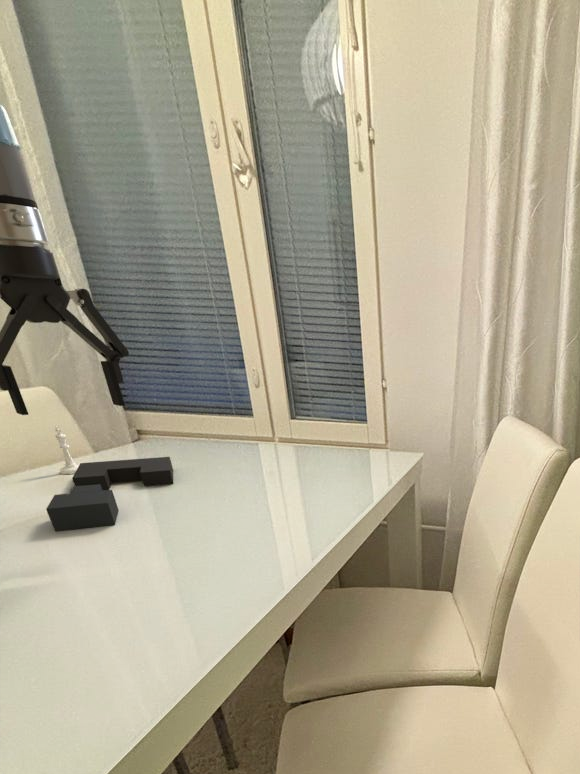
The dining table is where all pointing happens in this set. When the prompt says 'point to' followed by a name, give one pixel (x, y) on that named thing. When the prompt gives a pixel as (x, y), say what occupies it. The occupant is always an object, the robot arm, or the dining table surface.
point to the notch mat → (125, 472)
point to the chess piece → (65, 454)
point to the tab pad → (83, 508)
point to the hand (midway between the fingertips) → (73, 409)
